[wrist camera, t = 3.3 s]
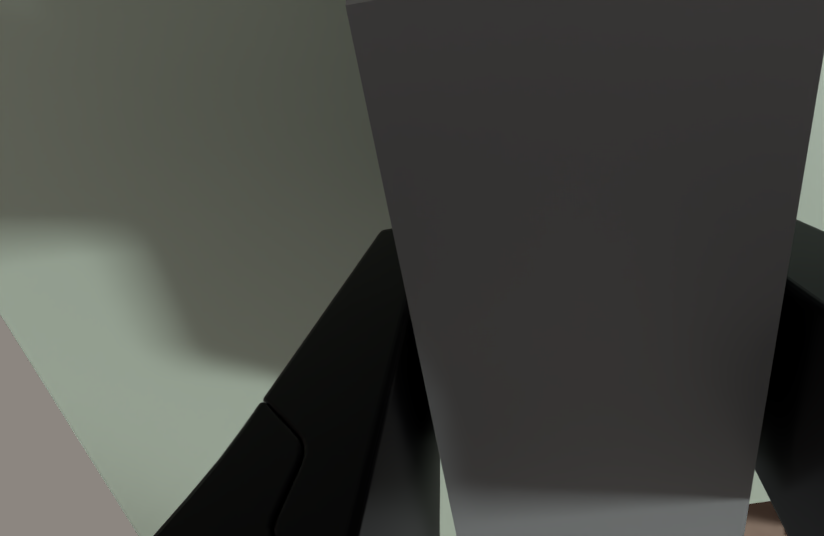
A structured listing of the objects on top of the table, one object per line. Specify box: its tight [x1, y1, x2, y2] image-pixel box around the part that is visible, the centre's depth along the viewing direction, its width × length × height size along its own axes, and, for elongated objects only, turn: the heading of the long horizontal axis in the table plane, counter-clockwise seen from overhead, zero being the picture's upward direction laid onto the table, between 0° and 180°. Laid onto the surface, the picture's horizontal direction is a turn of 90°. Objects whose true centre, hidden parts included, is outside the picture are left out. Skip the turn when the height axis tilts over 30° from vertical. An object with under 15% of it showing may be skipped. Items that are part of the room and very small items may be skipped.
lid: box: [0, 0, 824, 536], centre depth 10 cm, size 15×15×7 cm
